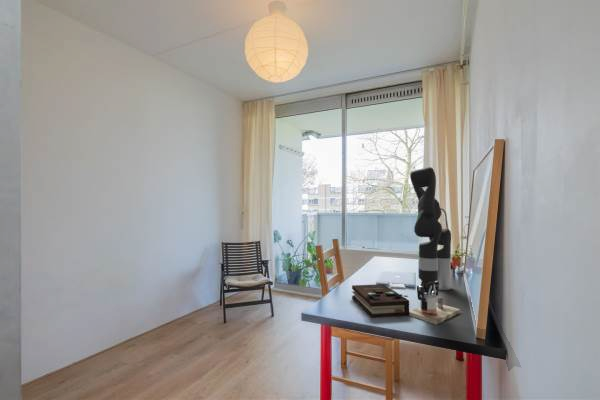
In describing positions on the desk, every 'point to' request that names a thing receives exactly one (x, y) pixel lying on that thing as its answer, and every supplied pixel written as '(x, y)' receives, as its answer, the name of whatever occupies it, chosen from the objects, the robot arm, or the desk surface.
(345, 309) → the desk surface
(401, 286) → the hard drive
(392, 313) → the decorative book
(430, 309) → the sleeve
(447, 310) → the pin board
